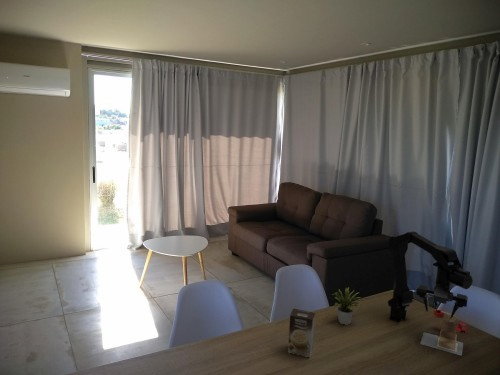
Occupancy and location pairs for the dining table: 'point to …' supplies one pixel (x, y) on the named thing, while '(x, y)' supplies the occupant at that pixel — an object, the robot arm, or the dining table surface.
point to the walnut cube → (448, 330)
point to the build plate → (434, 342)
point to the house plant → (346, 306)
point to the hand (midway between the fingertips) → (439, 314)
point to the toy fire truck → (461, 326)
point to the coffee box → (301, 332)
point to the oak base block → (447, 342)
